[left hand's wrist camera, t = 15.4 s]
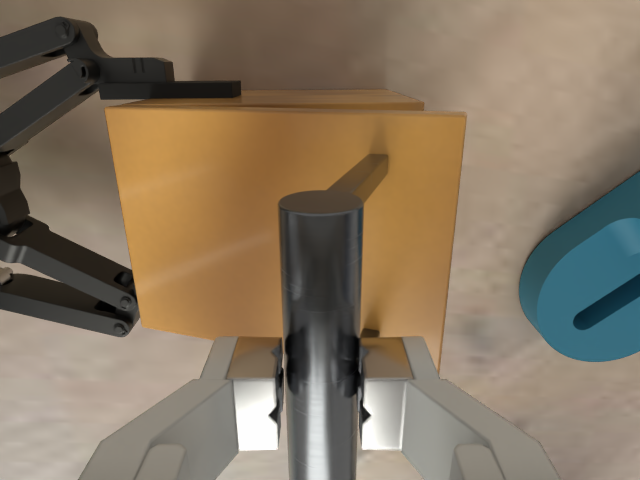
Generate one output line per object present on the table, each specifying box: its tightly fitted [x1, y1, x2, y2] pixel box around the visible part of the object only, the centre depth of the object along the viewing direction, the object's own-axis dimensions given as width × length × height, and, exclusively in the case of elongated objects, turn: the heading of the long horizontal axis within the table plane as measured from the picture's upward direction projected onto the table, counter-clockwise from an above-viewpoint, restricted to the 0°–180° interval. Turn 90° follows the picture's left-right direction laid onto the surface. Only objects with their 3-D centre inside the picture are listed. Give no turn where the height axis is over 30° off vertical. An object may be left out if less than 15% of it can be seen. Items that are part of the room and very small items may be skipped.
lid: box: [104, 105, 467, 480], centre depth 15 cm, size 14×10×8 cm
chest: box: [122, 89, 424, 111], centre depth 26 cm, size 13×10×11 cm
